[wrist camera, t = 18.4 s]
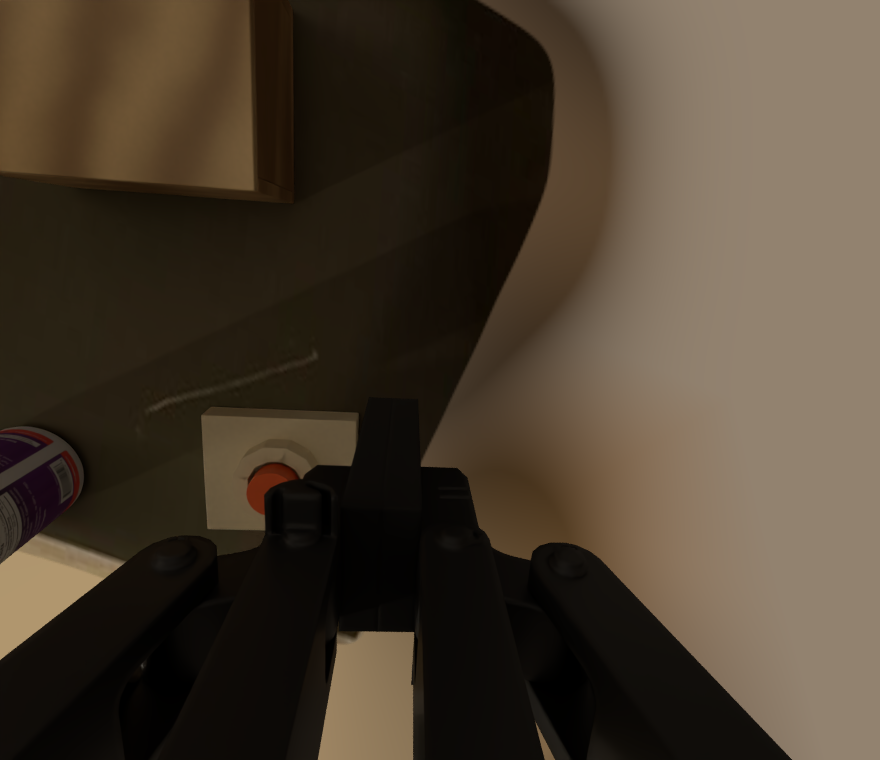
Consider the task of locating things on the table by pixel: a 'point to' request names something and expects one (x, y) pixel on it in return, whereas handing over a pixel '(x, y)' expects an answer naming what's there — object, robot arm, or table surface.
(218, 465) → the button box
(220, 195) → the lid box
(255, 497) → the button
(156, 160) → the wooden box lid
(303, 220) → the table surface
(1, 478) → the pill bottle
